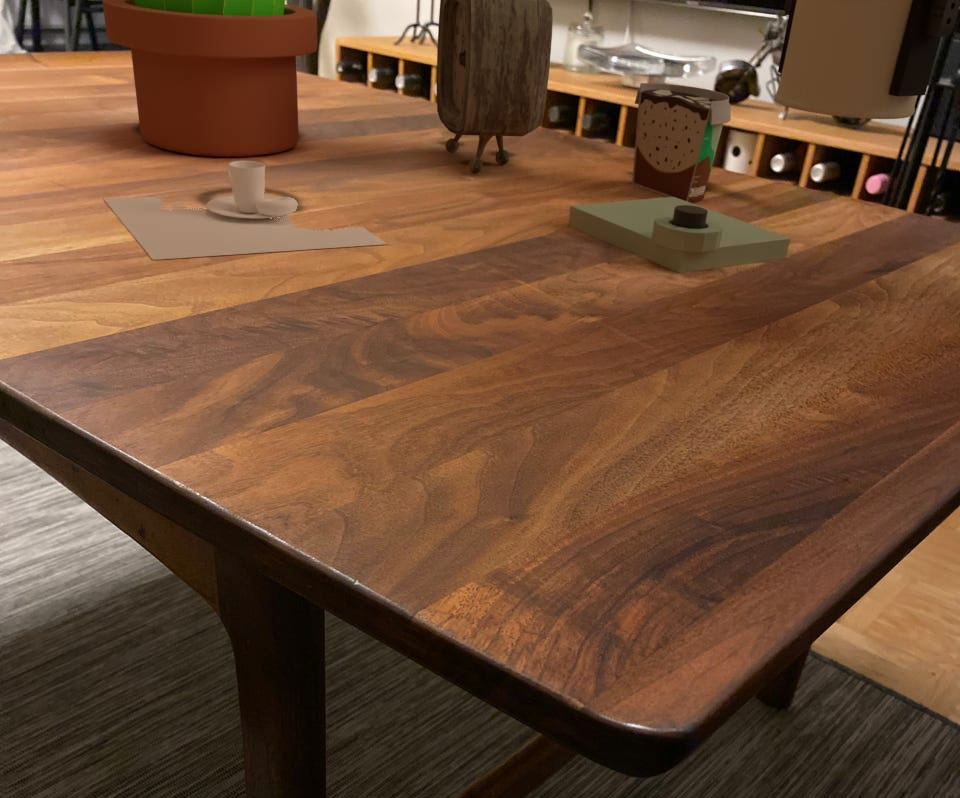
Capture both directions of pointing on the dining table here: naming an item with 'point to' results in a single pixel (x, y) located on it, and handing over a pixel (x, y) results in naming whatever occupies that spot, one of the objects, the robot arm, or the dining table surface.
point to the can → (845, 59)
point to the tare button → (689, 217)
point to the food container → (677, 138)
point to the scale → (677, 235)
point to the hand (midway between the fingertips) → (848, 83)
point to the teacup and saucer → (229, 222)
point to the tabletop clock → (492, 70)
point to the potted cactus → (215, 71)
